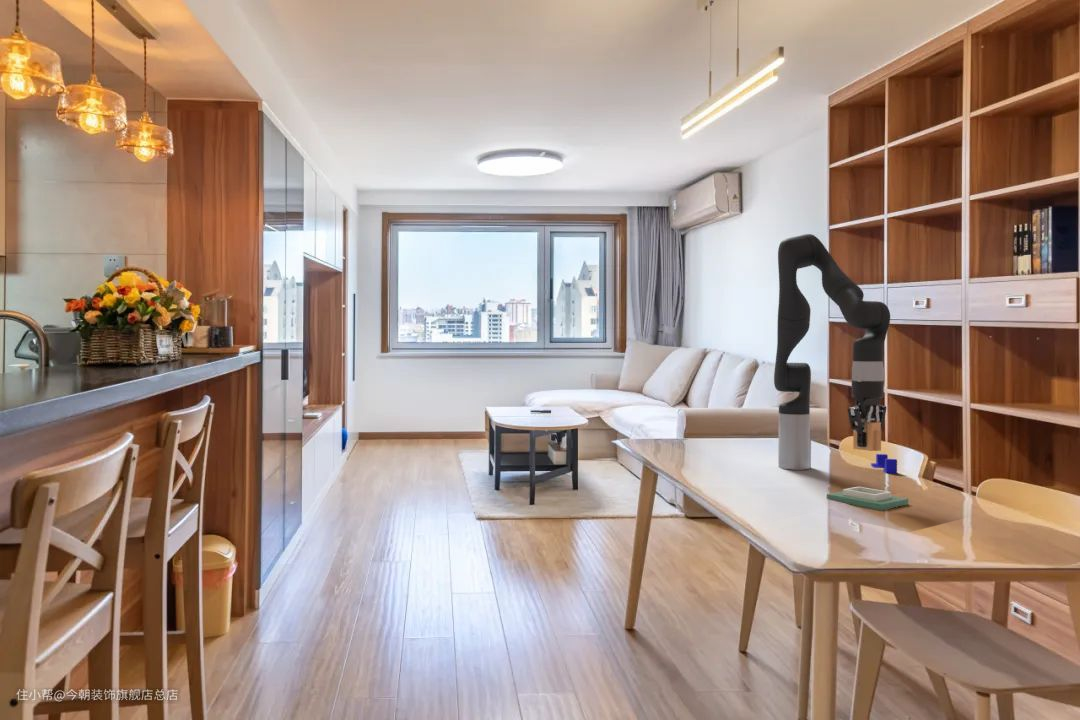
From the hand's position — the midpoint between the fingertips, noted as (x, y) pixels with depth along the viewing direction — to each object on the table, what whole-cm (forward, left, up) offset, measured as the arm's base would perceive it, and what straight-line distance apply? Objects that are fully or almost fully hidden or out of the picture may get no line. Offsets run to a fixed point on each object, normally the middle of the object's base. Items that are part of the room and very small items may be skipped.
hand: (867, 445), depth 183 cm
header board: (0, 0, -15) cm, 15 cm away
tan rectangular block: (0, 0, -1) cm, 1 cm away
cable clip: (-43, -21, -15) cm, 50 cm away
